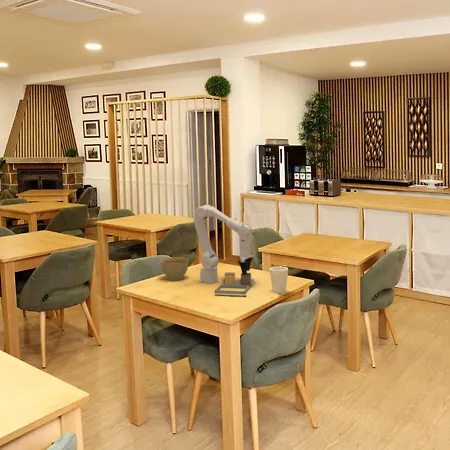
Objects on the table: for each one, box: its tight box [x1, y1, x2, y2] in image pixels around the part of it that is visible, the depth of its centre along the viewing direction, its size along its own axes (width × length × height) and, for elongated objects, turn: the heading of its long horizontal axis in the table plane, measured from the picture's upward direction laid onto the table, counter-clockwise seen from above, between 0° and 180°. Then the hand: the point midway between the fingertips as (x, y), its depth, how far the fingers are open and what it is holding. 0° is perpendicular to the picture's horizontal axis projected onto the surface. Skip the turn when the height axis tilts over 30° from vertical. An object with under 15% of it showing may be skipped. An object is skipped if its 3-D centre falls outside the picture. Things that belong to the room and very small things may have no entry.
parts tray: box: [214, 284, 251, 298], centre depth 291 cm, size 16×11×3 cm
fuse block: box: [221, 276, 256, 288], centre depth 303 cm, size 10×17×4 cm, turn 75°
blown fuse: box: [240, 272, 252, 285], centre depth 302 cm, size 5×3×6 cm, turn 75°
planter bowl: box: [160, 256, 190, 281], centre depth 325 cm, size 16×16×11 cm
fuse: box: [224, 271, 236, 285], centre depth 304 cm, size 5×3×6 cm, turn 75°
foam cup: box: [269, 266, 289, 296], centre depth 288 cm, size 10×9×13 cm
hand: (246, 272), depth 301 cm, fingers open, 7 cm apart
